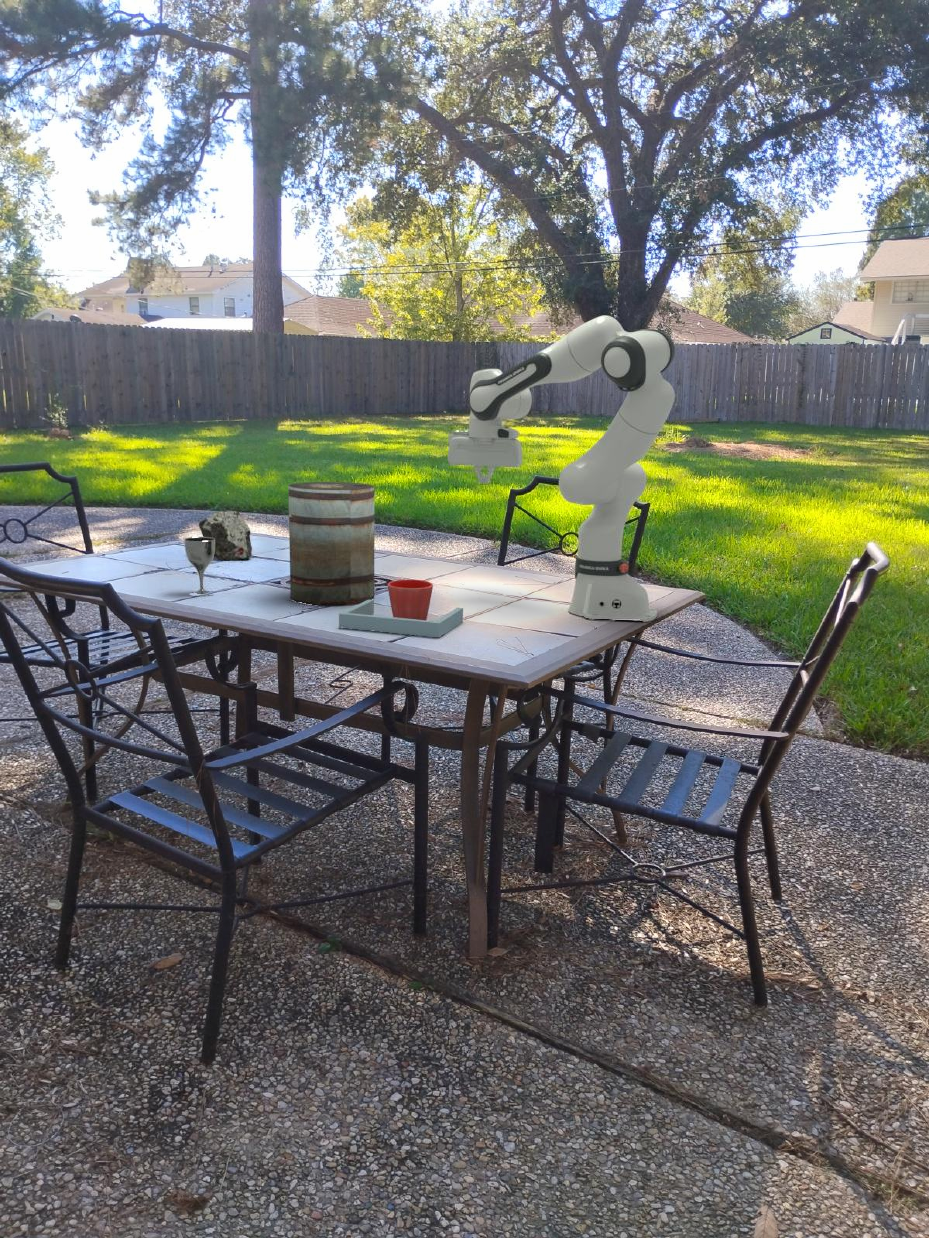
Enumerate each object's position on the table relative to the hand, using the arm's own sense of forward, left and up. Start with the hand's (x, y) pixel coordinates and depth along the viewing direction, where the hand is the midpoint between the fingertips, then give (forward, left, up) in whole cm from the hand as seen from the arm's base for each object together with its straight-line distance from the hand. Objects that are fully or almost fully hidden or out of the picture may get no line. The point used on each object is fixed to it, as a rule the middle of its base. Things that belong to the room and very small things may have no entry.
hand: (484, 483), depth 270 cm
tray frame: (+7, +42, -31) cm, 52 cm away
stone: (+95, -26, -31) cm, 104 cm away
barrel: (+36, +20, -31) cm, 51 cm away
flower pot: (+6, +39, -31) cm, 51 cm away
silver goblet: (+70, +30, -31) cm, 82 cm away
